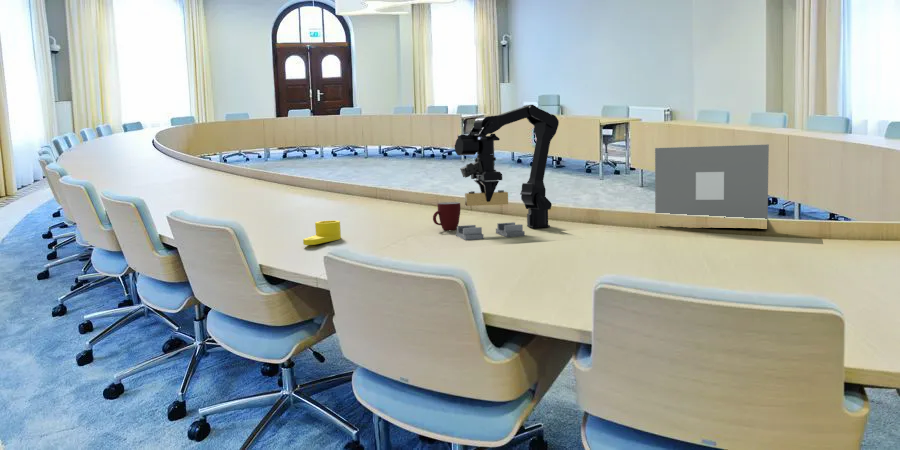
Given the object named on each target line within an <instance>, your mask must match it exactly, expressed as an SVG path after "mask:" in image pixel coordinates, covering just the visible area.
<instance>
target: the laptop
mask: <svg viewBox="0 0 900 450" xmlns="http://www.w3.org/2000/svg"><path fill="white" fill-rule="evenodd" d="M769 152H770V144H746V145H745V144H744V145H743V144H741V145H712V146H711V145H710V146H709V145H706V146H679V147H678V146H677V147H675V146H673V147H655V148H654V165H655V166H654V167H655V168H654V170H655V171H654V187H655V188H654V194H655V195H654V197H655V198H654V200H655V202H654V203H655V205H654V207H655V208H654V214H655V213H670V214H687V215H709V216H726V217H744V218H765V219H769V218H768V213H769V211H768V209H769V207H768V206H769V158H770V157H769V156H770V155H769V154H770V153H769ZM724 218H725V217H724Z"/></svg>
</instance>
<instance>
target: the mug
mask: <svg viewBox="0 0 900 450" xmlns="http://www.w3.org/2000/svg"><path fill="white" fill-rule="evenodd" d="M460 215H461V202H459V201H458V202H457V201H456V202H455V201H449V202H439V203H437V211H435V212H434V214H433V216H432V221H433V223H434V224H435V225H436V226H441V228H442V230H443V231H447V230H448V231H449V230H451V231H455V230H456V231H457V226H459V224H460V218H461V217H460ZM437 216H438V218H439V222H438V221H437Z"/></svg>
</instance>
